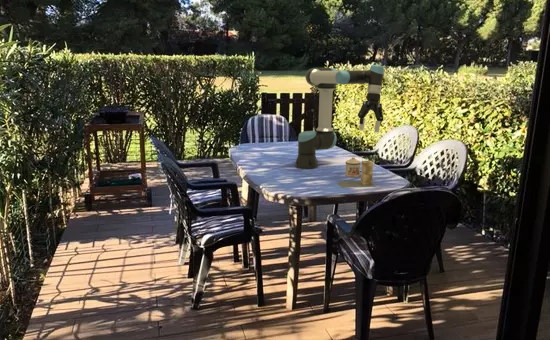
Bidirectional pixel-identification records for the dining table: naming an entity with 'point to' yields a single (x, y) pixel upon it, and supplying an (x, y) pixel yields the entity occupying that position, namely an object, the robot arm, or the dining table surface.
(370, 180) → the birch block
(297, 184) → the dining table surface
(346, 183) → the mat
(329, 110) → the robot arm
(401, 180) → the dining table surface
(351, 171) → the teacup with lid
